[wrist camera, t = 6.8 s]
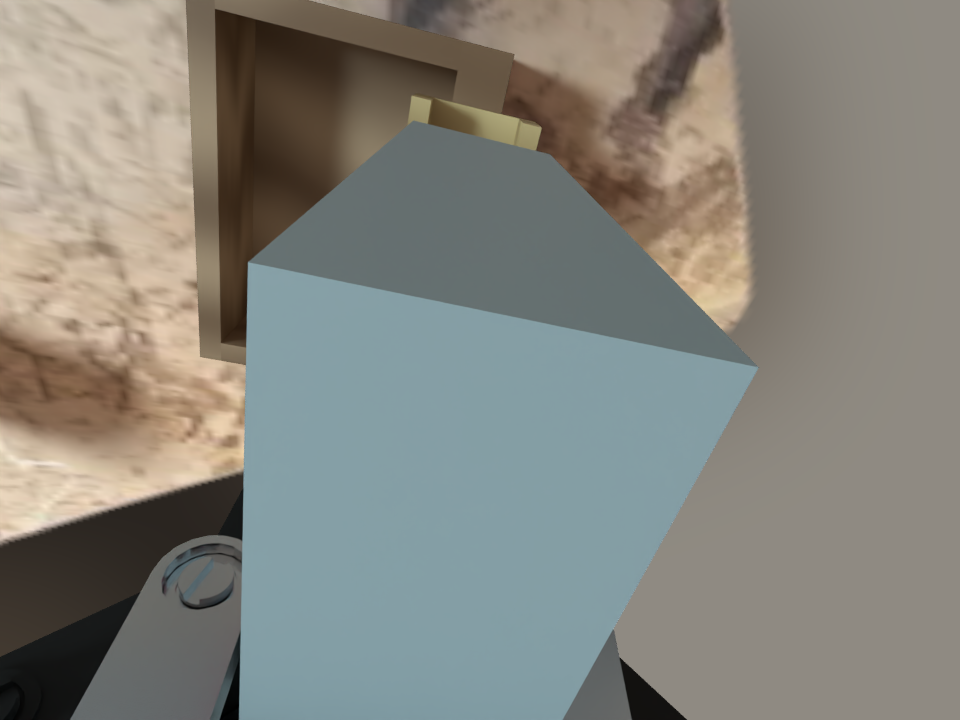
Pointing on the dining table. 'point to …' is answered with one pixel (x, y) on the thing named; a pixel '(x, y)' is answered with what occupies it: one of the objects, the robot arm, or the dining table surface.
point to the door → (460, 437)
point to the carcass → (309, 124)
